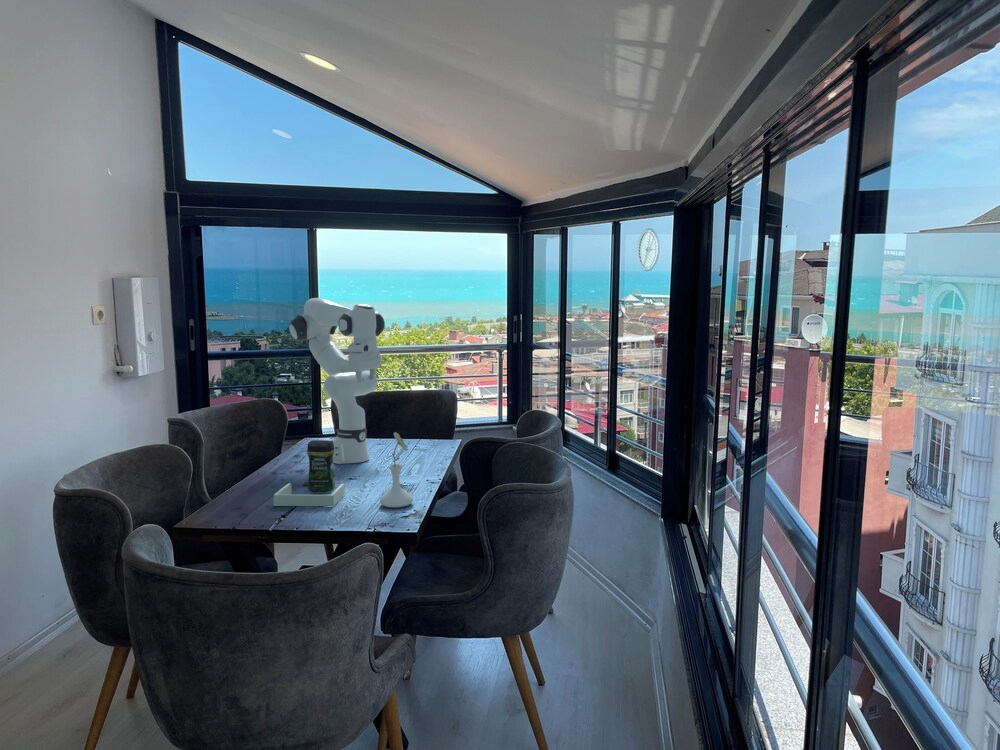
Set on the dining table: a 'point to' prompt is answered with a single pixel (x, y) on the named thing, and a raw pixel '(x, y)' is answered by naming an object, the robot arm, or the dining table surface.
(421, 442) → the dining table surface
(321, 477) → the coffee jar
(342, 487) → the report bay
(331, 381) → the robot arm
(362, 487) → the dining table surface
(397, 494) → the flower in vase
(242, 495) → the dining table surface
